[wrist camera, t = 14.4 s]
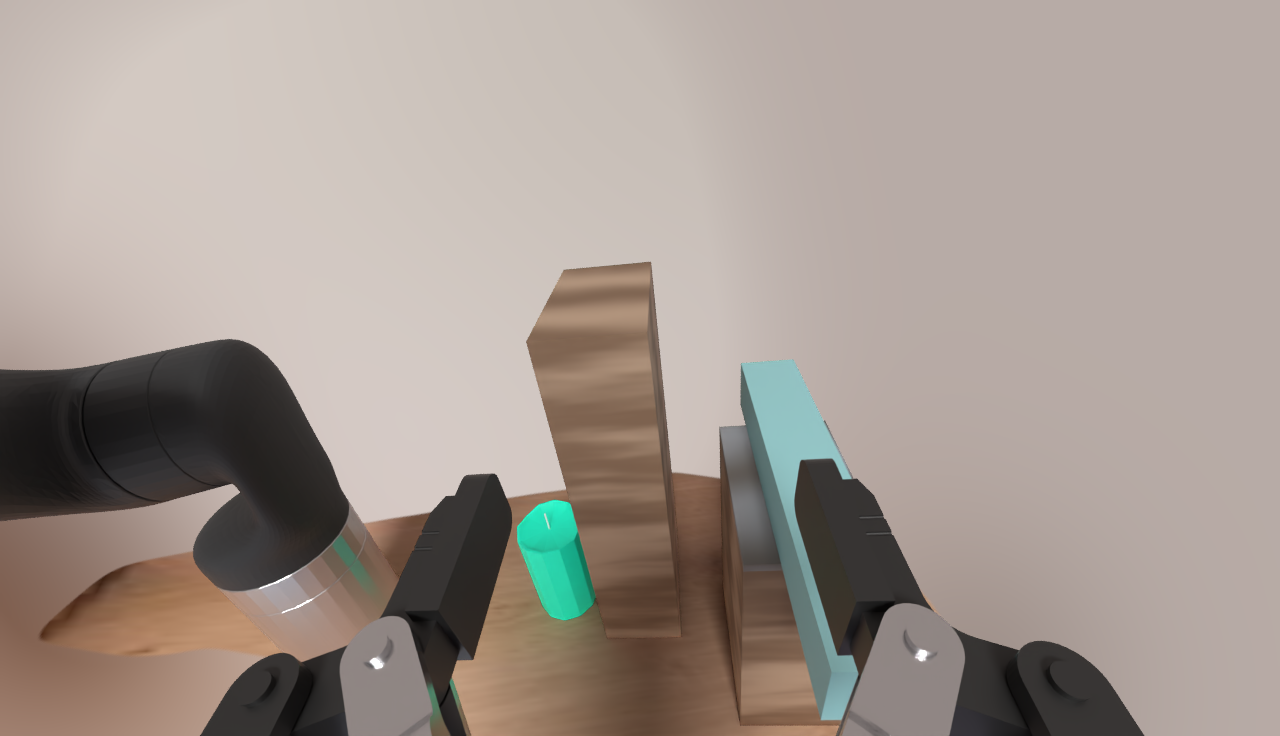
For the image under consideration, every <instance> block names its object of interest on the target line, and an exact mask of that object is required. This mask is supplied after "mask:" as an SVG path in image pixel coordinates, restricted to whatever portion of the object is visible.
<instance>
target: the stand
mask: <svg viewBox="0 0 1280 736" xmlns="http://www.w3.org/2000/svg"><path fill="white" fill-rule="evenodd" d="M526 343H527V346H528V350H529V354H530V357H531V361H532V365H533V368H534V371H535V376H536V379H537V383H538V387H539V390H540V394H541V398H542V401H543V405H544V409H545V412H546V416H547V420H548V423H549V427H550V431H551V434H552V438H553V442H554V445H555V449H556V453H557V456H558V460H559V463H560V467H561V471H562V475H563V478H564V482H565V485H566V489H567V493H568V497H569V500H570V504H571V508H572V511H573V515H574V519H575V522H576V526H577V530H578V533H579V537H580V541H581V544H582V548H583V552H584V555H585V559H586V563H587V566H588V570H589V574H590V577H591V581H592V585H593V588H594V592H595V596H596V599H597V603H598V607H599V610H600V614H601V618H602V621H603V625H604V629H605V632H606V636H607V638H657V637H681V615H680V589H679V563H678V537H677V522H676V512H675V502H674V492H673V482H672V471H671V461H670V451H669V442H668V431H667V421H666V411H665V400H664V390H663V380H662V370H661V360H660V349H659V339H658V329H657V319H656V309H655V298H654V289H653V278H652V268H651V262H644V263H633V264H622V265H612V266H601V267H591V268H580V269H569V270H564V271H563V273H562V274H561V277H560V278H559V280H558V282H557V284H556V286H555V288H554V290H553V292H552V294H551V295H550V297H549V299H548V301H547V303H546V305H545V307H544V309H543V311H542V313H541V315H540V317H539V318H538V320H537V322H536V324H535V326H534V328H533V330H532V332H531V334H530V336H529V337H528V340H527V341H526Z"/></svg>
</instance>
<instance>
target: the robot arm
mask: <svg viewBox="0 0 1280 736" xmlns="http://www.w3.org/2000/svg"><path fill="white" fill-rule="evenodd" d="M228 484H233V485H235V486H236V487H237V488H238V490H239V491H240V493H239V494H238V495H236V496H235V497H233V498H232V499H231V500H230V501H228V502H227V503H226V504H225V505H223V506H222V507H221V508H220V509H219V510H218V511H217V512H216V513H215V514H214V515H213V516H212V517H211V518H210V519H209V521H208V522H207V523H206V524H205V525H204V527H203V528H202V530H201V531H200V533H199V535H198V536H197V539H196V541H195V544H194V548H193V557H194V560H195V563H196V565H197V566H198V568H199V569H200V570H201V571H202V573H203V574H204V575H205V576H206V577H207V578H208V579H209V580H210V581H211V582H212V583H213V584H214V585H215V586H216V587H217V588H218V589H219V590H220V591H221V592H222V593H223V594H224V595H225V596H226V597H227V598H228V599H229V600H230V601H231V602H232V603H233V604H234V605H236V606H237V607H238V608H239V609H240V610H241V611H242V612H243V613H244V614H245V615H246V616H247V617H248V618H249V619H250V620H251V621H252V622H253V623H254V624H255V625H256V626H257V627H258V628H259V629H260V630H261V631H262V632H263V633H264V634H265V635H266V636H267V637H268V638H269V639H270V640H271V641H272V642H273V643H274V644H275V645H276V646H277V647H278V648H279V649H280V650H281V651H282V652H283V653H278V654H274V655H271V656H268V657H266V658H264V659H262V660H260V661H258V662H257V663H255V664H254V665H252V666H251V667H250V668H248V669H247V670H246V671H245V672H244V673H242V674H241V676H240V677H239V678H238V679H237V680H236V681H235V682H234V683H233V684H232V686H231V687H230V689H229V690H228V691H227V693H226V694H225V696H224V698H223V699H222V701H221V703H220V704H219V706H218V708H217V709H216V711H215V712H214V714H213V716H212V717H211V719H210V721H209V722H208V724H207V726H206V727H205V729H204V730H203V732H202V734H201V735H200V736H471V733H470V730H469V727H468V724H467V721H466V718H465V715H464V712H463V709H462V706H461V703H460V700H459V697H458V694H457V691H456V688H455V685H454V682H453V679H452V674H453V671H454V667H455V664H456V661H457V660H473V659H474V655H475V652H476V648H477V645H478V642H479V638H480V635H481V631H482V628H483V624H484V621H485V618H486V614H487V611H488V607H489V604H490V600H491V597H492V594H493V590H494V587H495V583H496V580H497V576H498V573H499V570H500V566H501V563H502V559H503V556H504V552H505V549H506V546H507V542H508V539H509V535H510V532H511V527H512V513H511V508H510V506H509V503H508V501H507V498H506V496H505V494H504V491H503V489H502V486H501V484H500V482H499V479H498V477H497V475H495V474H476V475H466V476H465V477H464V478H463V479H462V481H461V483H460V485H459V488H458V490H457V492H456V495H455V496H446V497H445V498H444V499H443V500H442V501H441V502H440V503H439V504H438V505H437V507H436V508H435V509H434V510H433V511H432V512H431V513H430V515H429V518H428V520H427V522H426V524H425V526H424V528H423V530H422V535H420V537H419V539H418V541H417V543H416V545H415V550H414V551H412V553H411V555H410V558H409V560H408V562H407V564H406V566H405V568H404V570H403V572H402V574H401V577H400V579H398V577H397V575H396V574H395V572H394V571H393V569H392V568H391V566H390V564H389V563H388V561H387V560H386V558H385V557H384V555H383V554H382V552H381V550H380V549H379V547H378V546H377V544H376V543H375V541H374V540H373V538H372V536H371V535H370V533H369V532H368V530H367V529H366V527H365V526H364V524H363V523H362V521H361V520H360V518H359V517H358V515H357V513H356V512H355V511H354V509H353V507H352V506H351V504H350V503H349V501H348V500H347V498H346V496H345V495H344V493H343V492H342V490H341V488H340V485H339V483H338V480H337V477H336V475H335V472H334V469H333V466H332V464H331V462H330V460H329V458H328V456H327V454H326V452H325V451H324V449H323V447H322V445H321V444H320V442H319V440H318V438H317V437H316V435H315V433H314V431H313V429H312V428H311V426H310V424H309V422H308V420H307V418H306V416H305V414H304V412H303V411H302V409H301V407H300V405H299V403H298V401H297V399H296V397H295V395H294V393H293V391H292V390H291V388H290V386H289V385H288V383H287V381H286V379H285V378H284V376H283V375H282V374H281V372H280V371H279V369H278V368H277V366H276V365H275V364H274V363H273V362H272V361H271V360H270V359H269V358H268V356H266V355H265V354H264V353H262V351H260V350H259V349H258V348H256V347H254V346H253V345H251V344H249V343H246V342H243V341H240V340H232V339H227V340H217V341H211V342H205V343H200V344H195V345H190V346H185V347H180V348H175V349H171V350H166V351H161V352H156V353H152V354H147V355H142V356H137V357H133V358H128V359H123V360H119V361H114V362H110V363H105V364H100V365H94V366H89V367H83V368H75V369H65V370H1V369H0V521H7V520H16V519H26V518H35V517H44V516H57V515H68V514H80V513H93V512H105V511H115V510H125V509H132V508H139V507H145V506H150V505H155V504H158V503H163V502H166V501H170V500H173V499H177V498H180V497H184V496H188V495H191V494H195V493H199V492H203V491H206V490H210V489H214V488H217V487H221V486H225V485H228ZM794 507H795V514H796V519H797V523H798V527H799V530H800V533H801V536H802V540H803V543H804V546H805V550H806V553H807V556H808V560H809V563H810V566H811V570H812V573H813V576H814V580H815V583H816V586H817V590H818V593H819V596H820V600H821V603H822V606H823V609H824V613H825V616H826V619H827V623H828V626H829V629H830V633H831V636H832V639H833V643H834V646H835V649H836V653H837V656H845V655H852V656H853V659H854V662H855V665H856V668H857V671H858V676H857V678H856V681H855V684H854V687H853V689H852V692H851V695H850V698H849V700H848V703H847V706H846V709H845V711H844V714H843V717H842V720H841V722H840V725H839V728H838V731H837V733H836V736H1144V735H1143V733H1142V731H1141V730H1140V728H1139V727H1138V725H1137V724H1136V722H1135V721H1134V719H1133V718H1132V716H1131V715H1130V713H1129V712H1128V710H1127V709H1126V707H1125V706H1124V704H1123V702H1122V701H1121V699H1120V698H1119V696H1118V695H1117V693H1116V692H1115V690H1114V689H1113V687H1112V686H1111V684H1110V683H1109V682H1108V680H1107V679H1106V678H1105V677H1104V676H1103V674H1102V673H1101V672H1100V671H1099V670H1098V669H1097V668H1096V667H1095V666H1093V665H1092V664H1091V663H1090V662H1089V661H1087V660H1086V659H1085V658H1083V657H1082V656H1080V655H1079V654H1077V653H1076V652H1074V651H1072V650H1070V649H1068V648H1066V647H1064V646H1061V645H1059V644H1055V643H1052V642H1046V641H1034V642H1031V643H1028V644H1026V645H1025V646H1023V647H1022V648H1021V649H1020V650H1016V649H1013V648H1009V647H1006V646H1002V645H999V644H995V643H992V642H989V641H985V640H982V639H978V638H975V637H972V636H969V635H967V634H965V633H962V632H960V631H958V630H957V629H955V628H953V627H952V626H950V624H949V623H947V621H945V620H944V619H943V618H942V617H941V616H939V615H938V614H937V613H935V612H934V611H933V610H932V609H931V607H930V606H929V605H928V603H927V602H926V600H925V598H924V597H923V595H922V593H921V591H920V589H919V587H918V585H917V583H916V580H915V579H914V576H913V574H912V572H911V570H910V568H909V566H908V564H907V562H906V560H905V558H904V556H903V554H902V552H901V550H900V548H899V546H898V544H897V542H896V540H895V538H894V536H893V535H892V534H891V529H890V527H889V525H888V523H887V521H886V519H884V517H883V513H882V511H881V509H880V507H879V505H878V503H877V501H876V499H875V497H874V495H873V494H872V493H871V492H870V491H869V490H868V489H866V487H865V486H864V485H863V484H862V483H861V482H859V480H858V479H842V476H841V474H840V472H839V469H838V467H837V465H836V463H835V461H834V460H833V459H832V458H826V459H806V460H801V461H800V465H799V471H798V477H797V484H796V490H795V497H794Z"/></svg>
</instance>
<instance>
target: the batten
mask: <svg viewBox="0 0 1280 736" xmlns="http://www.w3.org/2000/svg"><path fill="white" fill-rule="evenodd" d="M741 408H742V412H743V415H744V420H745V424H746V428H747V432H748V436H749V439H750V443H751V447H752V451H753V455H754V459H755V463H756V467H757V471H758V475H759V479H760V483H761V487H762V491H763V495H764V499H765V502H766V506H767V510H768V514H769V518H770V522H771V526H772V530H773V534H774V538H775V542H776V546H777V550H778V554H779V558H780V562H781V566H782V569H783V573H784V577H785V581H786V585H787V589H788V593H789V597H790V601H791V605H792V609H793V613H794V617H795V621H796V625H797V629H798V632H799V636H800V640H801V644H802V648H803V652H804V656H805V660H806V664H807V668H808V672H809V676H810V680H811V684H812V688H813V692H814V696H815V699H816V703H817V707H818V711H819V715H820V719H821V720H842V717H843V714H844V711H845V709H846V706H847V703H848V700H849V698H850V695H851V692H852V689H853V687H854V684H855V681H856V678H857V676H858V671H857V668H856V665H855V662H854V659H853V656H852V655H845V656H837V653H836V649H835V646H834V643H833V639H832V636H831V633H830V629H829V626H828V623H827V619H826V616H825V613H824V609H823V606H822V603H821V600H820V596H819V593H818V590H817V586H816V583H815V580H814V576H813V573H812V570H811V566H810V563H809V560H808V556H807V553H806V550H805V546H804V543H803V540H802V536H801V533H800V530H799V527H798V523H797V519H796V514H795V507H794V497H795V490H796V484H797V477H798V471H799V465H800V461H801V460H806V459H826V458H832V459H833V460H834V461H835V463H836V465H837V467H838V469H839V472H840V474H841V476H842V479H852V478H851V476H850V474H849V472H848V470H847V468H846V466H845V464H844V462H843V460H842V458H841V456H840V454H839V452H838V450H837V448H836V446H835V444H834V442H833V440H832V438H831V435H830V433H829V431H828V429H827V427H826V425H825V423H824V421H823V419H822V417H821V415H820V413H819V411H818V409H817V407H816V405H815V403H814V401H813V399H812V397H811V395H810V393H809V390H808V388H807V387H806V384H805V382H804V380H803V378H802V376H801V374H800V372H799V370H798V368H797V366H796V364H795V362H794V360H779V361H766V362H753V363H741Z"/></svg>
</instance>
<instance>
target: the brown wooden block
mask: <svg viewBox="0 0 1280 736" xmlns="http://www.w3.org/2000/svg"><path fill="white" fill-rule="evenodd" d="M824 423H825V425H826V427H827V429H828V431H829V433H830V435H831V438H832V440H833V442H834V444H835V446H836V448H837V450H838V452H839V454H840V456H841V458H842V460H843V462H844V464H845V466H846V468H847V470H848V472H849V474H850V476H851V478H852V479H853V477H852V475H851V473H850V471H849V469H848V467H847V464H846V462H845V460H844V458H843V456H842V455H841V453H840V451H839V448H838V446H837V444H836V442H835V440H834V438H833V436H832V434H831V432H830V430H829V428H828V426H827V424H826V422H825V421H824ZM720 477H721V526H722V575H723V591H724V599H725V607H726V615H727V623H728V631H729V639H730V647H731V654H732V662H733V670H734V678H735V686H736V694H737V702H738V710H739V718H740V725H840V722H841V720H821V719H820V715H819V711H818V707H817V703H816V699H815V696H814V692H813V688H812V684H811V680H810V676H809V672H808V668H807V664H806V660H805V656H804V652H803V648H802V644H801V640H800V636H799V632H798V629H797V625H796V621H795V617H794V613H793V609H792V605H791V601H790V597H789V593H788V589H787V585H786V581H785V577H784V573H783V569H782V566H781V562H780V558H779V554H778V550H777V546H776V542H775V538H774V534H773V530H772V526H771V522H770V518H769V514H768V510H767V506H766V502H765V499H764V495H763V491H762V487H761V483H760V479H759V475H758V471H757V467H756V463H755V459H754V455H753V451H752V447H751V443H750V439H749V436H748V432H747V428H746V425H745V426H729V427H720Z"/></svg>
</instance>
